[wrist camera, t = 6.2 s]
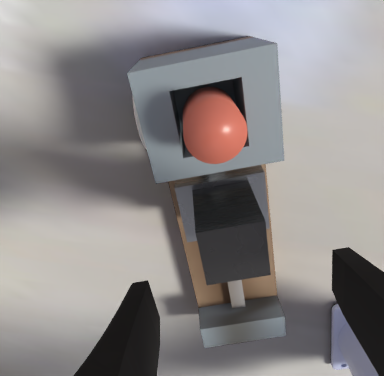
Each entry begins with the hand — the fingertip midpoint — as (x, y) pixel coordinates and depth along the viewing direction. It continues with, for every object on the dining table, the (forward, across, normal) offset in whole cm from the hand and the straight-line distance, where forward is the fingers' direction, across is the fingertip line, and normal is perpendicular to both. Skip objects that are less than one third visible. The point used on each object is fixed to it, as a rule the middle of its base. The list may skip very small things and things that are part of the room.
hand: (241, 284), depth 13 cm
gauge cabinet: (+9, 0, -6) cm, 10 cm away
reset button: (+5, 0, -5) cm, 8 cm away
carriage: (+8, 0, 0) cm, 8 cm away
